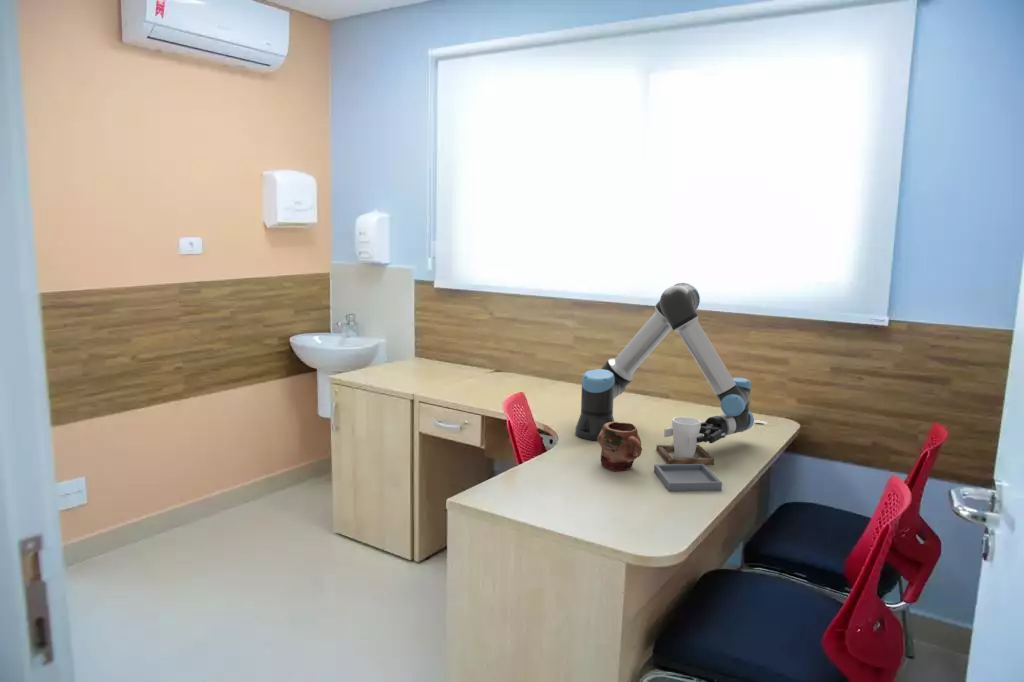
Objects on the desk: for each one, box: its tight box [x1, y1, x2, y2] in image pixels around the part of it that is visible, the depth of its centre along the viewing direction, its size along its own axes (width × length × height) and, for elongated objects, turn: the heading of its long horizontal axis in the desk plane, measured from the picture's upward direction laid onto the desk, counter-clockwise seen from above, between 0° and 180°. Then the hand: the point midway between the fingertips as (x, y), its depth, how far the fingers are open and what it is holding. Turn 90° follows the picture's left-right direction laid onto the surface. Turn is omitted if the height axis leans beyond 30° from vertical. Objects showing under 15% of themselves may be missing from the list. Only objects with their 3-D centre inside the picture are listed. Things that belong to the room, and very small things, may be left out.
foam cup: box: [671, 416, 702, 458], centre depth 242 cm, size 10×9×13 cm
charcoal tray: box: [653, 463, 723, 492], centre depth 222 cm, size 16×16×2 cm
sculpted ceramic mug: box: [596, 421, 643, 472], centre depth 231 cm, size 20×12×14 cm, turn 34°
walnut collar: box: [655, 444, 715, 466], centre depth 243 cm, size 15×15×2 cm
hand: (676, 437), depth 239 cm, fingers closed on foam cup, 9 cm apart
